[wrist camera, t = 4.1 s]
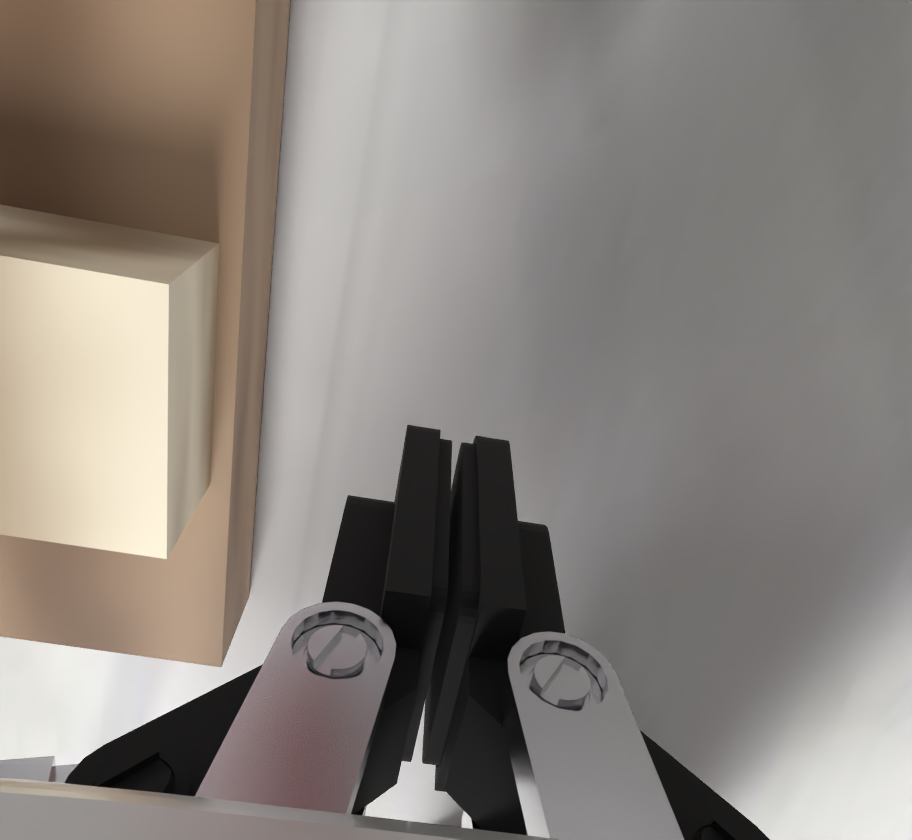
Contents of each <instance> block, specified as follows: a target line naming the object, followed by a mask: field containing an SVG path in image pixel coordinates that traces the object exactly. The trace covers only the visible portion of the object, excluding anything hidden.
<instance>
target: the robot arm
mask: <svg viewBox="0 0 912 840" xmlns="http://www.w3.org/2000/svg"><path fill="white" fill-rule="evenodd" d="M451 459H452V441H451V440H444V439H440V430H437V429H431V428H424V427H418V426H412V425H407V431H406V436H405V442H404V448H403V454H402V460H401V466H400V472H399V478H398V484H397V490H396V496H395V502H389V501H383V500H376V499H369V498H363V497H356V496H349V495H348V497H347V501H346V505H345V509H344V513H343V517H342V521H341V526H340V530H339V534H338V538H337V542H336V546H335V551H334V555H333V559H332V563H331V567H330V572H329V576H328V580H327V584H326V588H325V592H324V597H323V601H322V603H319V604H316V605H313V606H310V607H307V608H304V609H302V610H301V611H299V612H298V613H296V614H295V615H293V616H292V617H290V619H289V620H288V621H287V622H286V624H285V625H284V626H283V628H282V629H281V631H280V633H279V635H278V637H277V639H276V640H275V642H274V644H273V646H272V648H271V650H270V652H269V654H268V656H267V658H266V660H265V662H264V664H263V665H261V666H259V667H257V668H255V669H253V670H251V671H249V672H247V673H245V674H243V675H241V676H239V677H237V678H235V679H233V680H231V681H229V682H227V683H225V684H223V685H221V686H219V687H217V688H215V689H214V690H212V691H210V692H208V693H206V694H204V695H202V696H200V697H198V698H196V699H194V700H192V701H190V702H188V703H186V704H184V705H182V706H180V707H178V708H176V709H174V710H172V711H170V712H168V713H166V714H164V715H162V716H160V717H158V718H156V719H154V720H152V721H150V722H148V723H146V724H144V725H142V726H141V727H139V728H137V729H135V730H133V731H131V732H129V733H127V734H125V735H123V736H121V737H119V738H117V739H115V740H113V741H111V742H109V743H107V744H105V745H103V746H102V747H100V748H99V749H97V750H96V751H94V752H93V753H91V754H90V755H88V756H87V757H85V758H84V759H83V760H82V761H81V762H80V763H79V764H73V765H61V766H55V758H54V756H49V757H36V758H24V759H11V760H0V840H770V839H769V838H768V837H767V836H766V835H765V834H764V833H763V832H762V831H761V830H760V829H759V828H758V827H757V826H756V825H754V824H753V823H752V822H751V821H750V820H748V819H747V818H746V817H745V816H744V815H742V814H741V813H740V812H739V811H737V810H736V809H735V808H734V807H733V806H731V805H730V804H729V803H728V802H727V801H725V800H724V799H723V798H722V797H720V796H719V795H718V794H717V793H716V792H714V791H713V790H712V789H711V788H710V787H708V786H707V785H706V784H705V783H703V782H702V781H701V780H700V779H699V778H697V777H696V776H695V775H694V774H693V773H691V772H690V771H689V770H688V769H686V768H685V767H684V766H683V765H682V764H680V763H679V762H678V761H677V760H676V759H674V758H673V757H672V756H671V755H669V754H668V753H667V752H666V751H665V750H663V749H662V748H661V747H660V746H659V745H657V744H656V743H655V742H654V741H652V740H651V739H650V738H649V737H648V736H646V735H645V734H644V733H643V732H642V731H640V730H639V727H638V725H637V722H636V720H635V717H634V715H633V713H632V710H631V708H630V705H629V703H628V700H627V698H626V695H625V693H624V690H623V688H622V686H621V683H620V681H619V678H618V676H617V674H616V672H615V670H614V669H613V667H612V665H611V664H610V662H609V661H608V660H607V659H606V658H605V657H604V656H603V655H602V654H601V653H600V652H599V651H598V650H597V649H596V648H594V647H593V646H591V645H589V644H588V643H586V642H585V641H583V640H581V639H578V638H576V637H573V636H570V635H568V634H565V629H564V623H563V616H562V610H561V604H560V598H559V592H558V586H557V580H556V573H555V567H554V561H553V555H552V549H551V543H550V536H549V532H548V528H547V527H546V526H545V525H541V524H535V523H528V522H521V521H518V519H517V510H516V500H515V491H514V481H513V471H512V462H511V452H510V444H509V441H506V440H500V439H493V438H487V437H481V436H476V437H475V439H474V442H473V444H470V443H463V442H462V443H461V446H460V450H459V455H458V460H457V464H456V469H455V474H454V479H453V484H452V488H451ZM425 698H426V700H425ZM424 703H425V718H424V736H423V754H422V762H423V763H424V764H432V765H436V770H435V790H437V791H445V792H447V793H448V794H449V795H450V796H451V797H452V798H453V799H454V800H455V801H456V803H457V804H458V805H459V806H460V807H461V808H462V809H463V810H464V811H463V815H462V827H454V826H445V825H437V824H428V823H420V822H411V821H403V820H394V819H386V818H377V817H369V816H365V811H366V806H367V805H368V804H369V803H371V802H372V801H373V800H375V799H376V798H377V797H379V796H380V795H382V794H383V793H384V792H386V791H387V790H388V789H390V788H391V787H393V786H394V785H395V784H397V780H398V775H399V770H400V766H401V761H408V762H411V760H412V756H413V751H414V747H415V742H416V738H417V734H418V729H419V725H420V720H421V716H422V711H423V707H424Z"/></svg>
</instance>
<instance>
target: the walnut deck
mask: <svg viewBox="0 0 912 840" xmlns="http://www.w3.org/2000/svg"><path fill="white" fill-rule="evenodd" d="M290 1H291V0H0V205H5V206H11V207H17V208H22V209H28V210H34V211H39V212H45V213H51V214H56V215H62V216H68V217H73V218H79V219H85V220H90V221H96V222H101V223H107V224H113V225H118V226H124V227H130V228H135V229H141V230H147V231H152V232H158V233H164V234H169V235H175V236H181V237H186V238H192V239H197V240H203V241H209V242H214V243H219V261H218V288H217V315H216V341H215V368H214V395H213V421H212V448H211V475H210V485H209V487H208V489H207V490H206V492H205V494H204V496H203V497H202V499H201V501H200V503H199V504H198V506H197V508H196V509H195V511H194V513H193V515H192V516H191V518H190V520H189V522H188V523H187V525H186V527H185V529H184V530H183V532H182V534H181V535H180V537H179V539H178V541H177V542H176V544H175V546H174V548H173V549H172V551H171V553H170V554H169V556H168V558H167V559H162V558H155V557H149V556H142V555H135V554H128V553H122V552H115V551H108V550H101V549H95V548H88V547H81V546H74V545H68V544H61V543H54V542H48V541H41V540H34V539H27V538H21V537H14V536H7V535H0V636H2V637H9V638H16V639H23V640H30V641H38V642H45V643H52V644H59V645H66V646H73V647H80V648H88V649H95V650H102V651H109V652H116V653H123V654H131V655H138V656H145V657H152V658H159V659H166V660H174V661H181V662H188V663H195V664H202V665H209V666H217V667H222V664H223V662H224V659H225V657H226V654H227V651H228V649H229V646H230V644H231V641H232V639H233V636H234V634H235V631H236V628H237V626H238V623H239V621H240V618H241V616H242V613H243V611H244V608H245V606H246V603H247V600H248V598H249V588H250V574H251V559H252V545H253V531H254V516H255V502H256V488H257V473H258V459H259V445H260V430H261V416H262V402H263V387H264V373H265V359H266V345H267V330H268V316H269V302H270V287H271V273H272V259H273V244H274V230H275V216H276V201H277V187H278V173H279V158H280V144H281V130H282V116H283V101H284V87H285V73H286V58H287V44H288V30H289V15H290Z"/></svg>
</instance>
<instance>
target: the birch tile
mask: <svg viewBox="0 0 912 840" xmlns="http://www.w3.org/2000/svg"><path fill="white" fill-rule="evenodd" d="M218 261H219V243H214V242H209V241H203V240H197V239H192V238H186V237H181V236H175V235H169V234H164V233H158V232H152V231H147V230H141V229H135V228H130V227H124V226H118V225H113V224H107V223H101V222H96V221H90V220H85V219H79V218H73V217H68V216H62V215H56V214H51V213H45V212H39V211H34V210H28V209H22V208H17V207H11V206H5V205H0V535H7V536H14V537H21V538H27V539H34V540H41V541H48V542H54V543H61V544H68V545H74V546H81V547H88V548H95V549H101V550H108V551H115V552H122V553H128V554H135V555H142V556H149V557H155V558H162V559H167V558H168V556H169V554H170V553H171V551H172V549H173V548H174V546H175V544H176V542H177V541H178V539H179V537H180V535H181V534H182V532H183V530H184V529H185V527H186V525H187V523H188V522H189V520H190V518H191V516H192V515H193V513H194V511H195V509H196V508H197V506H198V504H199V503H200V501H201V499H202V497H203V496H204V494H205V492H206V490H207V489H208V487H209V485H210V475H211V448H212V421H213V395H214V368H215V341H216V315H217V288H218Z"/></svg>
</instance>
